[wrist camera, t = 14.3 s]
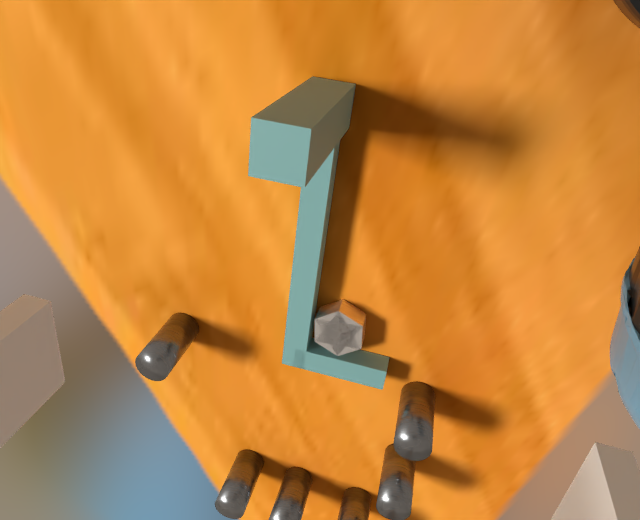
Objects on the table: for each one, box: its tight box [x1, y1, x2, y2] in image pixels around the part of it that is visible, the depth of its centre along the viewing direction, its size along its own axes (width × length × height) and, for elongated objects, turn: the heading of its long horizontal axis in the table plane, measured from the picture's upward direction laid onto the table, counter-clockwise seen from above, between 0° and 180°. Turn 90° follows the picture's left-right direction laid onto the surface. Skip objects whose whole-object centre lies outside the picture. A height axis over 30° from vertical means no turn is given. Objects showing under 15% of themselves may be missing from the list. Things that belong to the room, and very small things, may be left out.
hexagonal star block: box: [315, 299, 366, 356], centre depth 43 cm, size 4×5×2 cm
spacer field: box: [135, 313, 435, 520], centre depth 49 cm, size 26×20×6 cm
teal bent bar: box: [248, 77, 390, 389], centre depth 35 cm, size 24×10×12 cm, turn 173°
